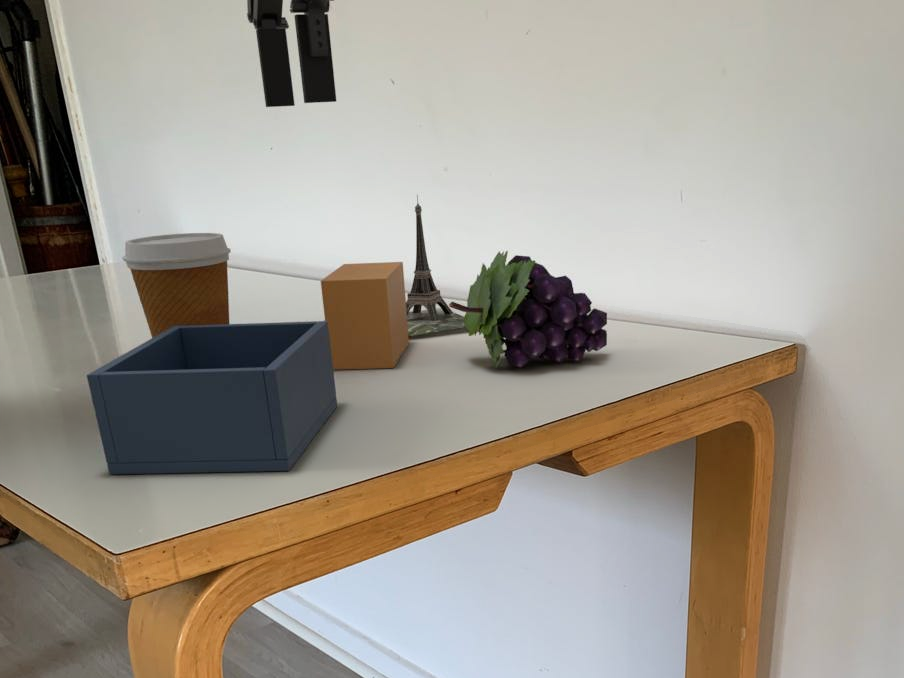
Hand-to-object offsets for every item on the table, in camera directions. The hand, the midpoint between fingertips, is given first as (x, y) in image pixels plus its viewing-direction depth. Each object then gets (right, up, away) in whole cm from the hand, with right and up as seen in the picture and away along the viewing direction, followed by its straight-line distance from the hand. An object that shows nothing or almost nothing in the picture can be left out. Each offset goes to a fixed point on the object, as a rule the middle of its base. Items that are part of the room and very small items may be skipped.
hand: (299, 105), depth 92 cm
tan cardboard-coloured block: (+6, -22, +6) cm, 23 cm away
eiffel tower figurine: (+10, -14, +20) cm, 26 cm away
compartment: (-2, -35, -17) cm, 39 cm away
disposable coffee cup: (-10, -24, +3) cm, 27 cm away
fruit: (+22, -24, 0) cm, 33 cm away
